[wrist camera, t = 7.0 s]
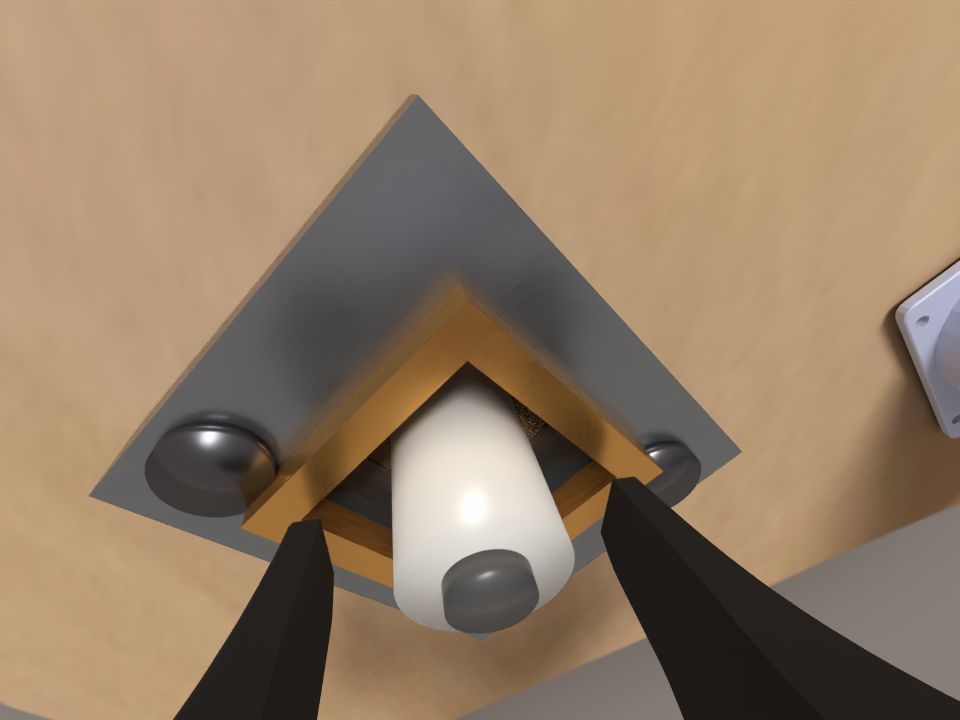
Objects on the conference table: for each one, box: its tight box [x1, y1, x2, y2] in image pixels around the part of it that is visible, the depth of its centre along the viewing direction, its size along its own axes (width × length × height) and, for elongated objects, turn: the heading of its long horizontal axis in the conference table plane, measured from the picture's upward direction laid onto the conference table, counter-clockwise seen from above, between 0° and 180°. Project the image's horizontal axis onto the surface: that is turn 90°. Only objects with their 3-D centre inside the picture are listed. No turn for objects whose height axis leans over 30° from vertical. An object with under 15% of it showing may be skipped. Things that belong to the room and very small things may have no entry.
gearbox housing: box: [89, 94, 742, 640], centre depth 13 cm, size 14×12×4 cm
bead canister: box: [391, 361, 575, 634], centre depth 12 cm, size 4×4×7 cm
